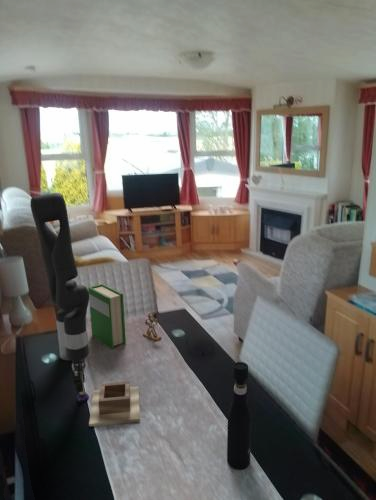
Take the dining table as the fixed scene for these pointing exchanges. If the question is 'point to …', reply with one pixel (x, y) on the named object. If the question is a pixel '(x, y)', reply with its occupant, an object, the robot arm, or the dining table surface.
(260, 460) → the dining table surface
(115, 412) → the socket board
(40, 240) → the robot arm
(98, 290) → the hardback book
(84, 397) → the toy lamp
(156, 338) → the openwork figure ornament
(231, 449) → the wine bottle
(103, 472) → the dining table surface
